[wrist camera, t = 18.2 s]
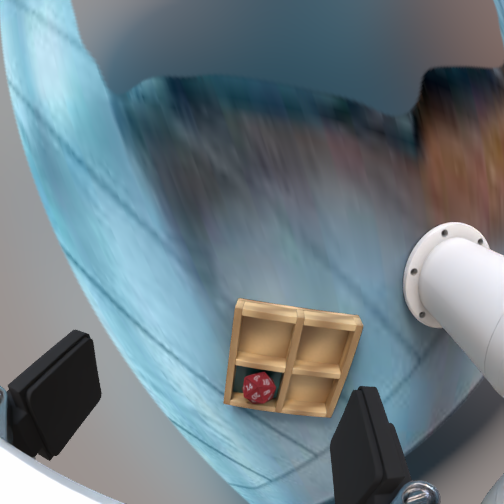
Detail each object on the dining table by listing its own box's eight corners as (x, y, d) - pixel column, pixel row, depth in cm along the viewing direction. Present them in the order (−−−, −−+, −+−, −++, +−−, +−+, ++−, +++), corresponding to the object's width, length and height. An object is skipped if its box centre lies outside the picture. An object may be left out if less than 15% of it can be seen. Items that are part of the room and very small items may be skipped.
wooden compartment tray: (358, 315, 33) (363, 325, 30) (329, 404, 36) (331, 417, 34) (238, 297, 34) (234, 307, 31) (226, 391, 37) (223, 403, 35)
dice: (257, 358, 35) (254, 378, 31) (284, 380, 35) (283, 401, 31) (236, 375, 35) (230, 395, 32) (262, 395, 36) (259, 416, 32)
